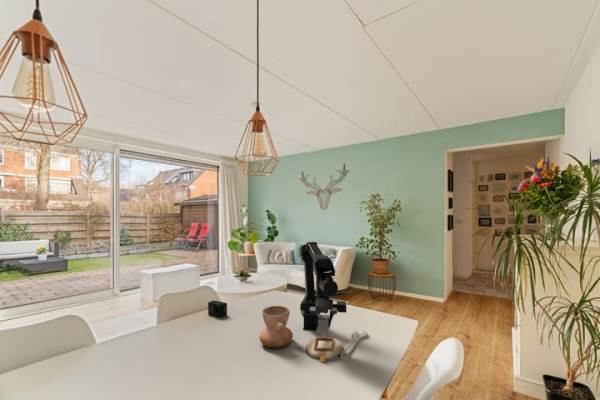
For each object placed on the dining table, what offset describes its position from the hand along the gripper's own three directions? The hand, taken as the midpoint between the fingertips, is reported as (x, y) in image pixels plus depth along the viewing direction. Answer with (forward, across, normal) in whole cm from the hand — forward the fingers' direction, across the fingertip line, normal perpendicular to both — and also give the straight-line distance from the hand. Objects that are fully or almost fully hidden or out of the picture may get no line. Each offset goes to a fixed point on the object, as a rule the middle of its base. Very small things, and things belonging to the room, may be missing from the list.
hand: (323, 327), depth 112 cm
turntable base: (+9, 0, 0) cm, 9 cm away
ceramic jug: (+10, -22, +4) cm, 24 cm away
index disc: (+9, 0, 0) cm, 9 cm away
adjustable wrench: (+10, +11, +7) cm, 16 cm away
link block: (+1, 0, 0) cm, 1 cm away
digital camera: (+10, -63, +30) cm, 70 cm away
